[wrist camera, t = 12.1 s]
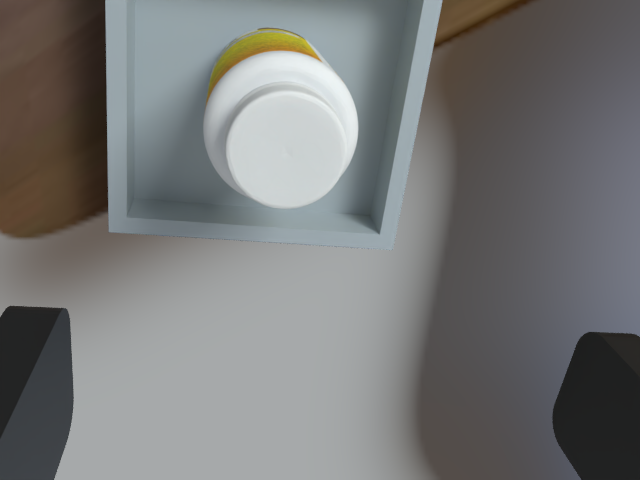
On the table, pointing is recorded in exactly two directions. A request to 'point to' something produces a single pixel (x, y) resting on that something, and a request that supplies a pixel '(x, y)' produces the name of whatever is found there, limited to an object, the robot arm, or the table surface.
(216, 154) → the supplement bottle
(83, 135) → the table surface
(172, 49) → the bin
